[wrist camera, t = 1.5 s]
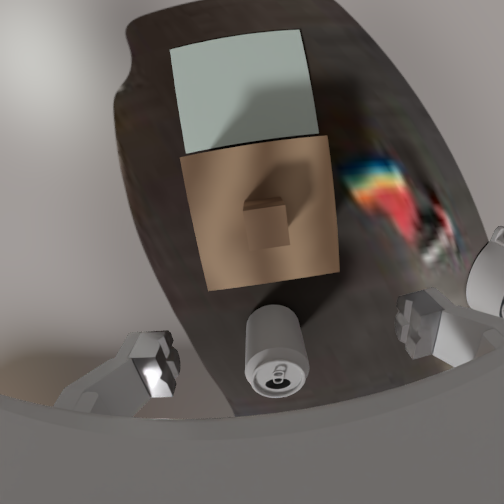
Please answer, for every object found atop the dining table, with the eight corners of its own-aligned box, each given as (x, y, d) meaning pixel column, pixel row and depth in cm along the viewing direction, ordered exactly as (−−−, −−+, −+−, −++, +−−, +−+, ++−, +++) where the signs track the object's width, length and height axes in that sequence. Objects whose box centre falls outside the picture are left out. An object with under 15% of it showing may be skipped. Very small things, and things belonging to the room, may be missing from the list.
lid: (324, 135, 25) (340, 133, 20) (336, 267, 29) (351, 290, 24) (182, 157, 25) (167, 159, 21) (209, 286, 30) (202, 312, 25)
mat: (298, 30, 28) (299, 29, 28) (318, 133, 33) (318, 133, 33) (170, 50, 29) (170, 49, 29) (186, 153, 34) (186, 153, 33)
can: (248, 345, 43) (246, 404, 32) (244, 302, 41) (242, 358, 29) (297, 342, 43) (309, 400, 32) (298, 299, 40) (313, 354, 29)
